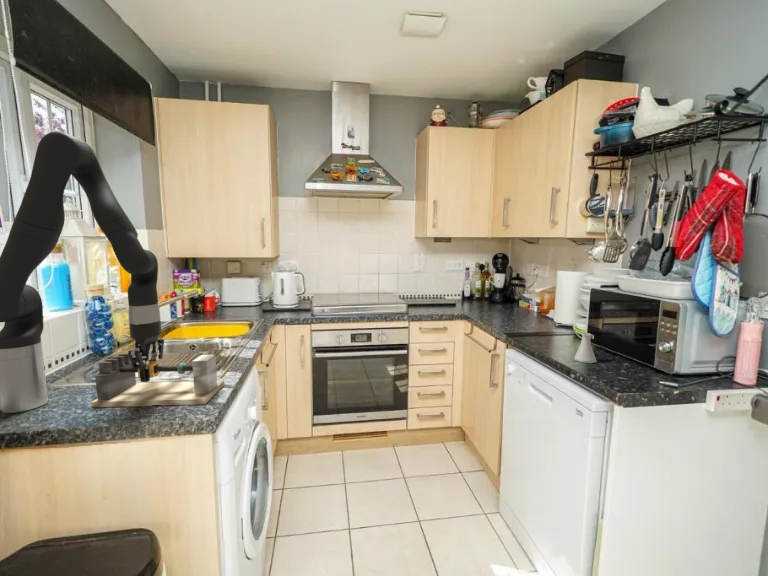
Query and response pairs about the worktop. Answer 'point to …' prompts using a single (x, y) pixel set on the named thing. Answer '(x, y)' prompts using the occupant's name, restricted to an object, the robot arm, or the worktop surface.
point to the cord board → (155, 384)
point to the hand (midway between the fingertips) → (149, 378)
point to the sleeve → (151, 369)
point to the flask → (585, 350)
